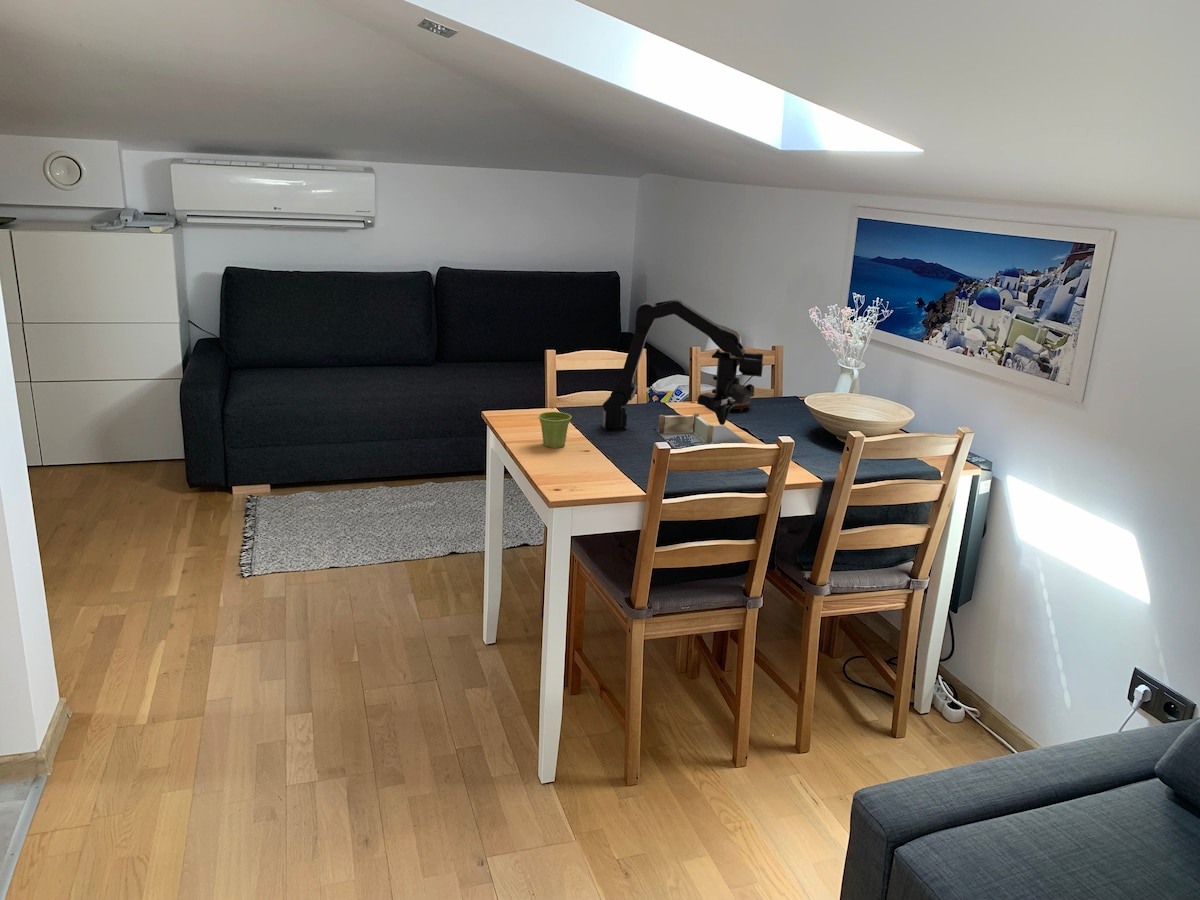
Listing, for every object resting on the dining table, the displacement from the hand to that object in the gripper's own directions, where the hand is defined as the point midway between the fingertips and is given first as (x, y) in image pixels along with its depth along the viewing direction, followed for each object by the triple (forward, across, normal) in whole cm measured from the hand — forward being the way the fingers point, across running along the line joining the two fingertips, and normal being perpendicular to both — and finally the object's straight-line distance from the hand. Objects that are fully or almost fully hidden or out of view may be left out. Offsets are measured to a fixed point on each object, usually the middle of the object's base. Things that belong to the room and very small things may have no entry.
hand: (721, 424), depth 276 cm
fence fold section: (+4, -4, +4) cm, 7 cm away
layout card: (+5, -3, +5) cm, 8 cm away
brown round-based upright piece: (+5, +32, +22) cm, 39 cm away
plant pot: (+5, -44, +26) cm, 51 cm away
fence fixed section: (+4, -5, +12) cm, 14 cm away
